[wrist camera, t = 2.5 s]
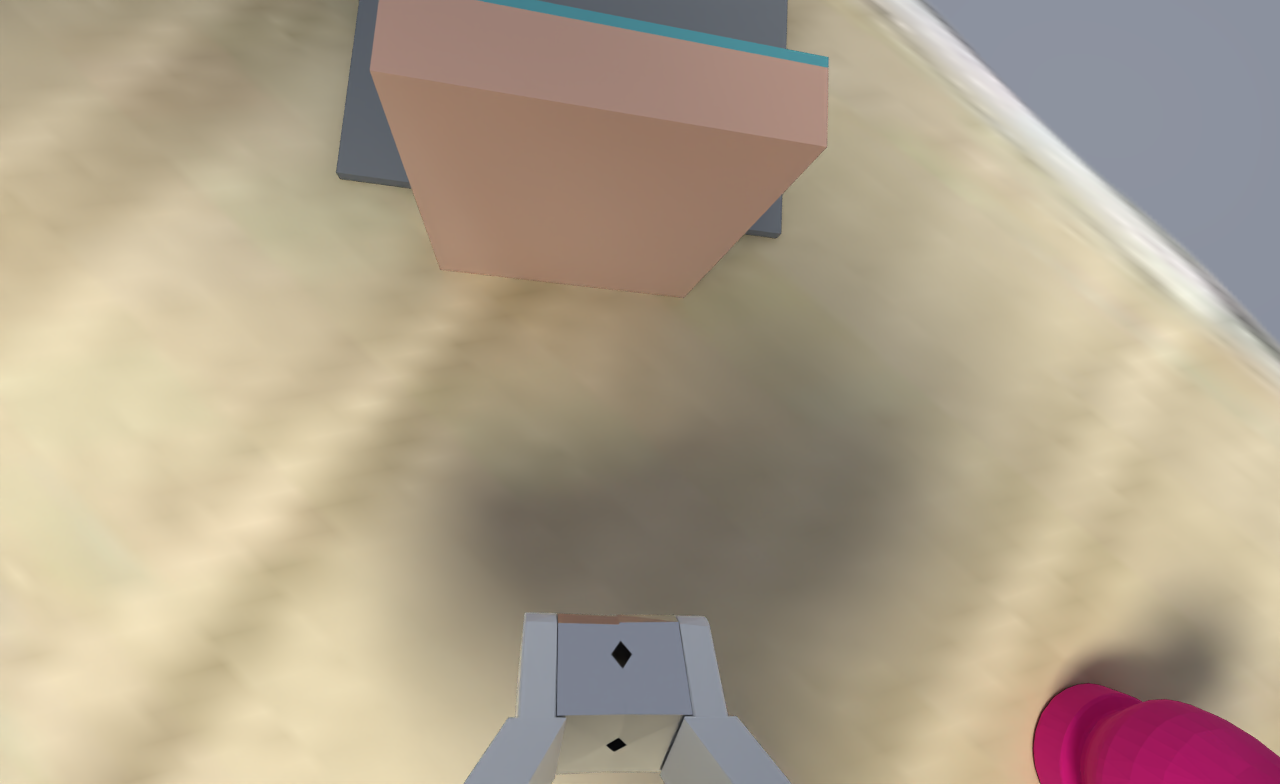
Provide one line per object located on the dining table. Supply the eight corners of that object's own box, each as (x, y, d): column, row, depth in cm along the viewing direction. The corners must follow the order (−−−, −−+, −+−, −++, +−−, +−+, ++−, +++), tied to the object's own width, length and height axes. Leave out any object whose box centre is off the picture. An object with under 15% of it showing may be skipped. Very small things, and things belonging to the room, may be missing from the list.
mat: (776, 238, 31) (781, 233, 30) (340, 178, 27) (336, 172, 27) (784, -53, 33) (789, -62, 33) (383, -143, 30) (380, -156, 29)
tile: (683, 297, 30) (827, 146, 16) (440, 269, 28) (370, 70, 14) (686, 246, 30) (828, 57, 17) (446, 215, 28) (382, -30, 14)
